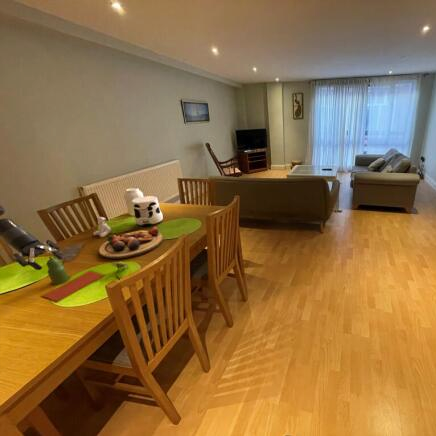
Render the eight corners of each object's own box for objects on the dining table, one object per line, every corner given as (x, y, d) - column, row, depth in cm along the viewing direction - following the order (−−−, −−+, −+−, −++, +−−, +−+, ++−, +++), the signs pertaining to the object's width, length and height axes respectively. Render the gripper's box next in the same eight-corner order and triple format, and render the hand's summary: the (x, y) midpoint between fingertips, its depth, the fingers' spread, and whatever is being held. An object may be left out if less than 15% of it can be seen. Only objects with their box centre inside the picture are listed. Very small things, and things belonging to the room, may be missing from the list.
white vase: (151, 211, 195) (145, 187, 188) (138, 216, 184) (131, 191, 176) (138, 209, 198) (132, 186, 191) (125, 215, 187) (118, 190, 180)
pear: (57, 285, 108) (46, 261, 103) (49, 283, 110) (38, 259, 105) (71, 278, 113) (61, 254, 108) (64, 276, 115) (53, 252, 110)
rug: (49, 264, 124) (48, 262, 123) (63, 247, 140) (62, 246, 140) (73, 259, 128) (72, 258, 127) (84, 244, 144) (83, 242, 144)
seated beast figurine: (92, 235, 155) (86, 218, 150) (106, 230, 162) (101, 213, 157) (102, 238, 151) (95, 220, 147) (115, 232, 158) (110, 215, 154)
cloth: (57, 301, 98) (56, 301, 98) (42, 296, 101) (41, 295, 101) (104, 275, 115) (103, 275, 115) (90, 271, 118) (89, 271, 118)
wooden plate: (159, 229, 163) (157, 218, 159) (166, 249, 138) (163, 236, 135) (101, 242, 146) (97, 229, 143) (97, 266, 122) (92, 252, 119)
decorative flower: (124, 267, 108) (111, 256, 117) (115, 280, 107) (103, 268, 115) (140, 272, 114) (127, 261, 123) (132, 284, 113) (119, 273, 121)
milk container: (156, 216, 184) (150, 194, 178) (168, 221, 175) (163, 198, 168) (132, 224, 171) (125, 200, 164) (143, 230, 162) (137, 204, 155)
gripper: (1, 241, 97) (35, 268, 100) (40, 227, 110) (70, 250, 113) (-3, 251, 100) (30, 277, 103) (36, 236, 113) (65, 259, 116)
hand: (51, 263), depth 108 cm, fingers open, 8 cm apart
